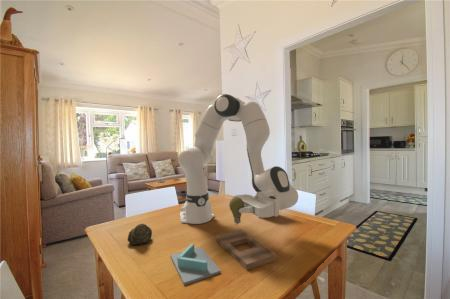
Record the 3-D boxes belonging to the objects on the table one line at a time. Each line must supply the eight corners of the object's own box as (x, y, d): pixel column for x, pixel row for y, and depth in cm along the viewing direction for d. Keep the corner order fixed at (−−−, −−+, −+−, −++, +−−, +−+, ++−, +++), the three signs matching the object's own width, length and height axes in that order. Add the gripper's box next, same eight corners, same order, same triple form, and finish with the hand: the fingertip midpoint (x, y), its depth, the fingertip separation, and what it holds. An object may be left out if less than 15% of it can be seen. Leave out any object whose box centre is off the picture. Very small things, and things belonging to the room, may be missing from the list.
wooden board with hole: (216, 240, 91) (216, 236, 91) (240, 234, 97) (240, 229, 97) (247, 270, 70) (246, 264, 70) (276, 259, 75) (276, 254, 75)
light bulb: (229, 221, 85) (228, 196, 84) (243, 220, 85) (242, 195, 85) (230, 226, 79) (229, 200, 78) (245, 225, 79) (245, 199, 79)
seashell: (119, 236, 85) (144, 234, 85) (128, 211, 95) (151, 210, 95) (127, 251, 92) (151, 250, 92) (135, 227, 101) (157, 226, 102)
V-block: (170, 256, 80) (170, 246, 80) (201, 248, 85) (200, 239, 85) (184, 285, 64) (183, 272, 63) (220, 272, 69) (220, 261, 69)
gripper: (249, 189, 97) (222, 194, 90) (281, 200, 78) (249, 206, 72) (250, 203, 97) (222, 208, 91) (281, 217, 79) (249, 225, 72)
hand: (234, 208), depth 81 cm, fingers closed on light bulb, 5 cm apart
